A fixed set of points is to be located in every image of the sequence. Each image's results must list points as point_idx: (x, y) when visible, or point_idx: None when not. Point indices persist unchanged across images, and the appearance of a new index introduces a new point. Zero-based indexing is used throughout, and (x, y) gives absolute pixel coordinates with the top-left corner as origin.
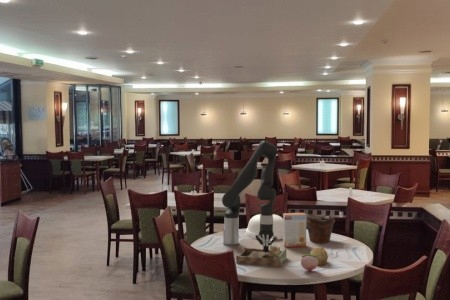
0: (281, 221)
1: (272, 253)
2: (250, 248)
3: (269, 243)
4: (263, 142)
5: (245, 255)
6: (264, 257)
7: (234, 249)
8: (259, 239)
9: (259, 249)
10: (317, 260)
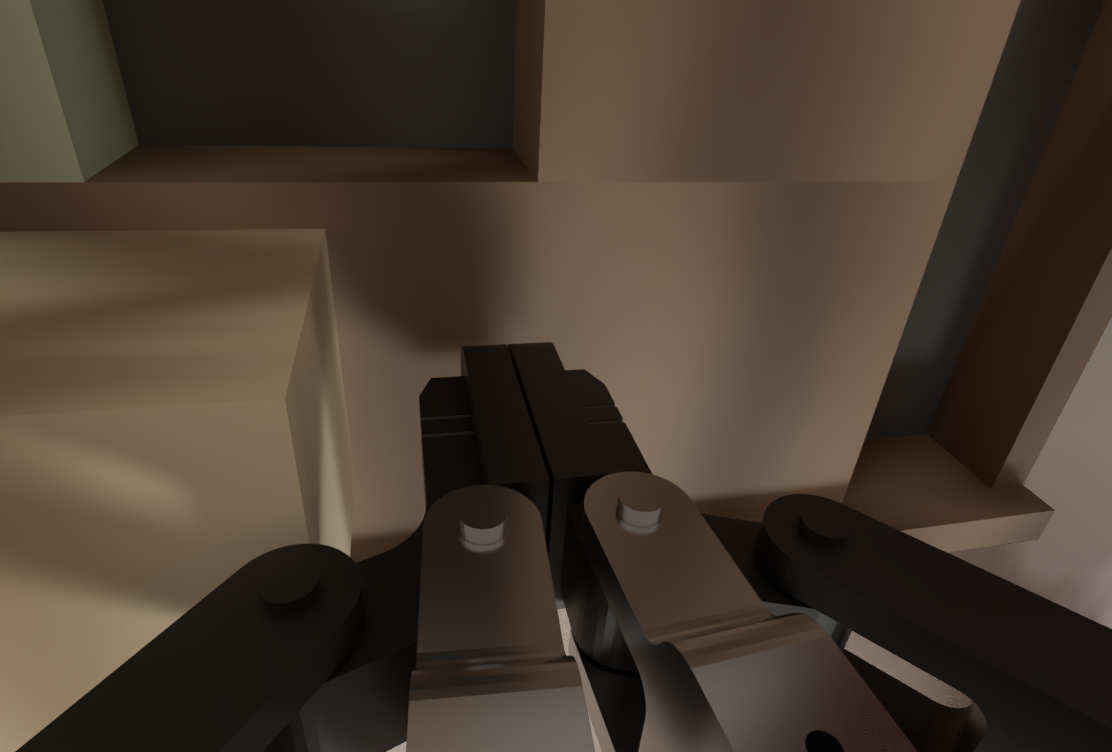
0: None
1: (183, 263)
2: (926, 542)
3: (352, 660)
4: None
5: (947, 350)
6: (492, 162)
7: (1048, 598)
8: (1103, 723)
9: None
10: None
